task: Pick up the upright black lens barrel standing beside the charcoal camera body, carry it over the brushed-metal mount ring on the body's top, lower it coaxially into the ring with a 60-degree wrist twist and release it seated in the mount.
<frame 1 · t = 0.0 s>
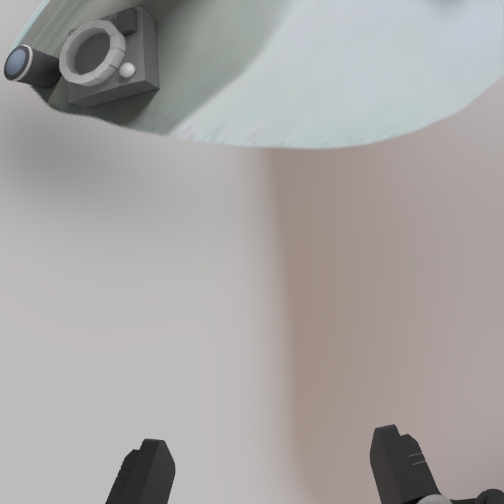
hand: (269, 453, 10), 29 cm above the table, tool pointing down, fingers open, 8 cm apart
camera body: (120, 63, 33), on the table
lens: (50, 73, 33), on the table
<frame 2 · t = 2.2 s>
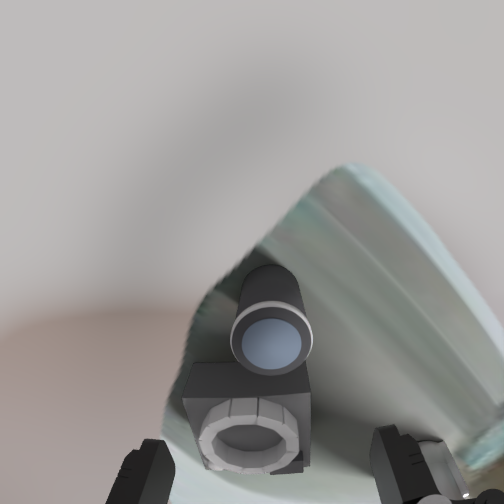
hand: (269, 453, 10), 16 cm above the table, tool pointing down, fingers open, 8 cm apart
camera body: (253, 401, 29), on the table
lens: (270, 292, 26), on the table
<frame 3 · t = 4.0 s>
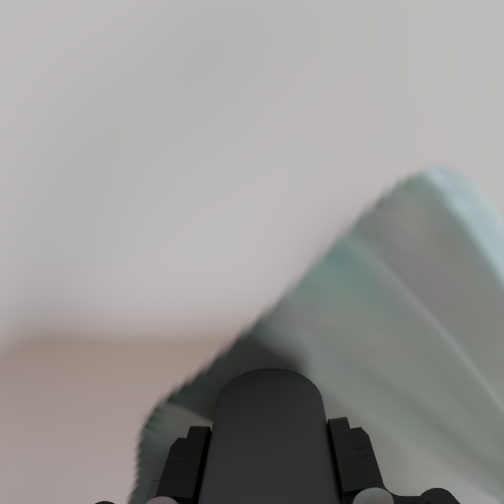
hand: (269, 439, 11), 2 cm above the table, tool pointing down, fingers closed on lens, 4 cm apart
lens: (270, 409, 13), on the table, touching gripper
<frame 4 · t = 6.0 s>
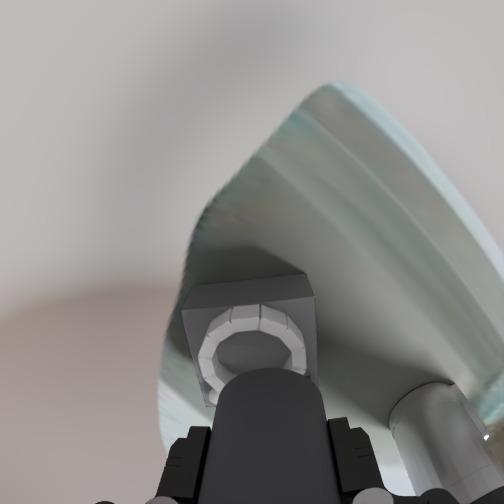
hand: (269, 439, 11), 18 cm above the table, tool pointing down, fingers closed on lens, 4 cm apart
camera body: (255, 329, 30), on the table
lens: (270, 408, 13), point 16 cm above the table, touching gripper
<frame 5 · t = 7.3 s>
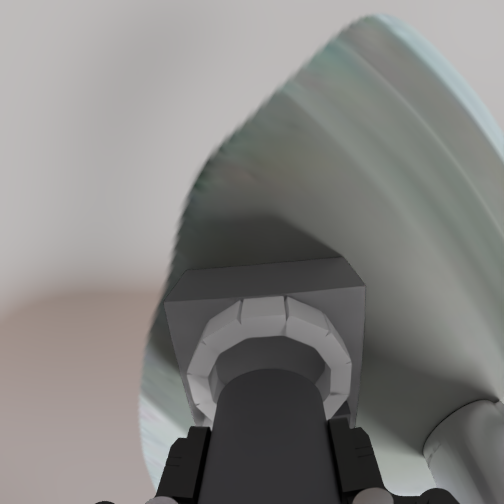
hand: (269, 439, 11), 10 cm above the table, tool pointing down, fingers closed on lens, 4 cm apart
camera body: (270, 334, 21), on the table
lens: (270, 408, 13), point 9 cm above the table, touching gripper
when the fingers open (8 cm above the table, at t = 8.3 s): lens drops 1 cm, resting on camera body.
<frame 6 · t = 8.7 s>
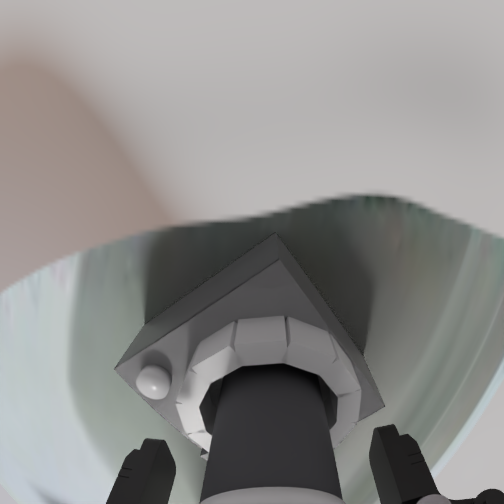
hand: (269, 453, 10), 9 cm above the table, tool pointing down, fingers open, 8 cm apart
camera body: (255, 344, 19), on the table
lens: (270, 389, 14), point 5 cm above the table, touching camera body
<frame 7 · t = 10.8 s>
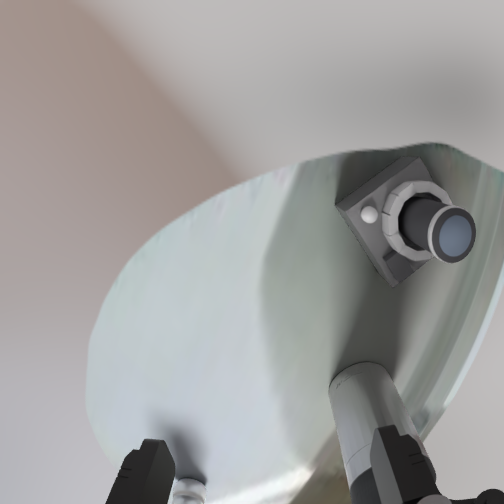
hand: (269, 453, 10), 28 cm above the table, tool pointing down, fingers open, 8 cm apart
plastic bottle: (192, 482, 50), on the table
camera body: (391, 215, 35), on the table
lens: (415, 218, 30), point 5 cm above the table, touching camera body
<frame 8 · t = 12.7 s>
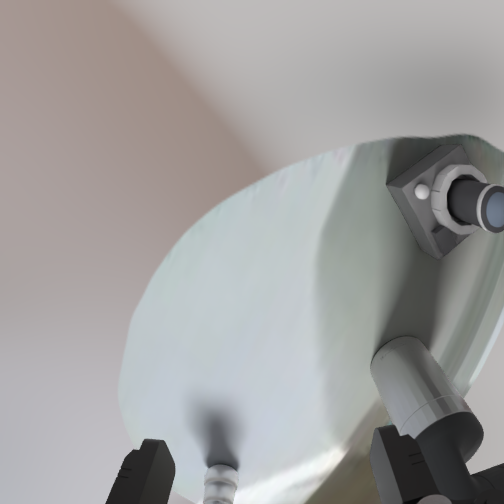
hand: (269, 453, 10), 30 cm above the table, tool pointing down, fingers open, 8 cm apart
plastic bottle: (223, 468, 52), on the table
camera body: (432, 197, 37), on the table
lens: (458, 198, 32), point 5 cm above the table, touching camera body
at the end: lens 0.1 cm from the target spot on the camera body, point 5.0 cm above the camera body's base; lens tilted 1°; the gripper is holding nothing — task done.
